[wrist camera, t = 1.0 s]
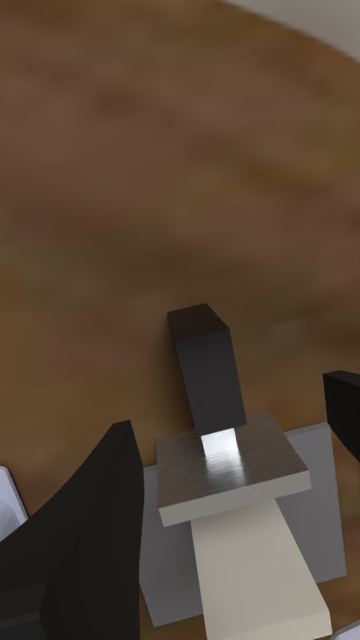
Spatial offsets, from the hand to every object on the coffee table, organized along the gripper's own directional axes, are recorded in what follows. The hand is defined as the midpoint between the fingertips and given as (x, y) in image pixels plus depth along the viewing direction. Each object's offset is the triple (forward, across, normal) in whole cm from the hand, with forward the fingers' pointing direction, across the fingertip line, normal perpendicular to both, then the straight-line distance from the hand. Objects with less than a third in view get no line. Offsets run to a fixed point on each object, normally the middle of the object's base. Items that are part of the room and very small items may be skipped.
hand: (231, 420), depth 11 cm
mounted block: (+9, 0, +2) cm, 10 cm away
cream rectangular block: (+9, 0, +13) cm, 15 cm away
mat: (+9, 0, +15) cm, 18 cm away
